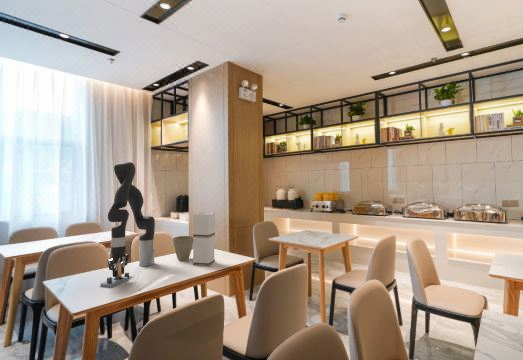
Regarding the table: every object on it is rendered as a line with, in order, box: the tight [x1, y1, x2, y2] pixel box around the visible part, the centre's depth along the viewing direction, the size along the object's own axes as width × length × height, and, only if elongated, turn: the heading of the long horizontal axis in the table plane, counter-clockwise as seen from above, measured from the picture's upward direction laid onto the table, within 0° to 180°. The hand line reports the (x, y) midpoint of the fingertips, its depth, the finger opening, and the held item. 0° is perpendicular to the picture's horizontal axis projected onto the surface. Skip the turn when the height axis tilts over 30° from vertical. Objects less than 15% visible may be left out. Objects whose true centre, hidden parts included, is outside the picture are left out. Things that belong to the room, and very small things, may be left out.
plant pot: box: [172, 235, 193, 262], centre depth 212 cm, size 15×15×16 cm
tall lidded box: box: [192, 212, 216, 267], centre depth 201 cm, size 11×11×35 cm
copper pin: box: [115, 262, 123, 280], centre depth 161 cm, size 3×3×12 cm
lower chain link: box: [121, 272, 134, 284], centre depth 164 cm, size 12×7×4 cm, turn 164°
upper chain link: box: [100, 276, 128, 288], centre depth 159 cm, size 12×7×6 cm, turn 164°
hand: (118, 275), depth 161 cm, fingers open, 4 cm apart
